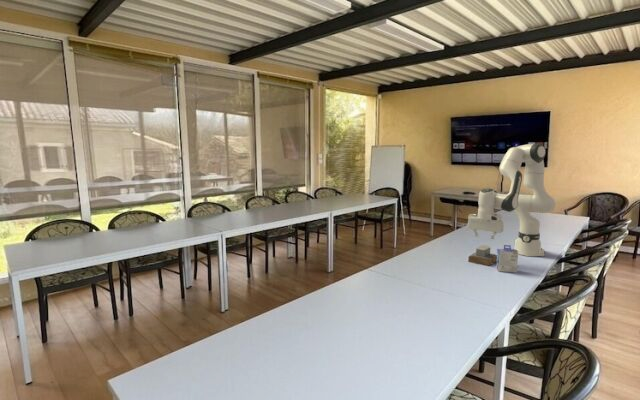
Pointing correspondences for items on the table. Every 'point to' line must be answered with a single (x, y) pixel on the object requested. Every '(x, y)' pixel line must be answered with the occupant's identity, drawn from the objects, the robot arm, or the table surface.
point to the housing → (483, 251)
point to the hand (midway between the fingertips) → (484, 237)
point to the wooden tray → (483, 259)
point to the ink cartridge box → (507, 259)
